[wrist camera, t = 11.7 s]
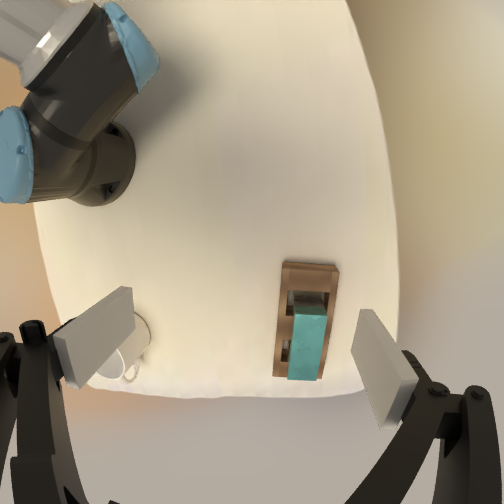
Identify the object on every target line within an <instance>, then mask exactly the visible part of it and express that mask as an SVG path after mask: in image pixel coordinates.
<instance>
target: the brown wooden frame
mask: <svg viewBox="0 0 504 504" xmlns="http://www.w3.org/2000/svg"><path fill="white" fill-rule="evenodd" d="M338 280H339V271H338V270H337V268H336V267H335V265H321V264H306V263H292V262H283V263H282V275H281V288H280V300H279V311H278V322H277V333H276V343H275V353H274V363H273V375H272V376H275V377H287V349H282V343H283V340H291V334H292V325H293V307H292V306H286V304H287V294H288V290H298V291H314V292H325V297H324V307H325V310H326V313H327V322H326V329H325V335H324V341H323V347H322V353H321V358H320V364H319V369H318V374H317V379H322V374H323V369H324V365H325V359H326V354H327V349H328V344H329V338H330V332H331V327H332V321H333V314H334V308H335V301H336V294H337V287H338Z"/></svg>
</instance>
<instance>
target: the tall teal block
mask: <svg viewBox="0 0 504 504" xmlns="http://www.w3.org/2000/svg"><path fill="white" fill-rule="evenodd" d="M292 307H293V325H292V334H291V340H288V344H287V379H288V380H309V381H316V379H317V374H318V369H319V364H320V358H321V353H322V347H323V341H324V335H325V329H326V322H327V313H326V310H325V307H324V304H323V301H322V298H321V295H320V292H314V291H298V290H293V296H292Z"/></svg>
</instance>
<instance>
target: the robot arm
mask: <svg viewBox="0 0 504 504" xmlns="http://www.w3.org/2000/svg"><path fill="white" fill-rule="evenodd" d="M0 58H2V59H4V60H6V61H8V62H9V63H11V64H13V65H15V66H16V67H18V69H19V72H20V81H21V86H23V87H24V88H26V89H27V90H29V91H30V92H29V94H28V96H27V97H26V99H25V100H24V102H23V103H22V105H21V106H20V107H17V106H11V107H7V108H5V109H4V110H2V111H1V112H0V202H2V203H19V204H25V203H29V202H38V201H46V200H54V199H63V198H68V199H70V200H73V201H75V202H77V203H79V204H81V205H84V206H91V207H93V206H102V205H106V204H109V203H111V202H113V201H114V200H115V199H117V198H118V197H119V196H120V195H121V194H122V193H123V192H124V190H125V189H126V187H127V186H128V184H129V182H130V180H131V177H132V174H133V171H134V165H135V149H134V144H133V141H132V138H131V136H130V135H129V133H128V132H127V130H126V129H125V128H124V127H122V126H121V125H120V124H118V123H115V122H112V120H113V119H114V117H115V116H116V115H117V114H118V113H119V112H120V111H121V110H122V109H123V108H124V107H125V106H126V104H127V103H128V102H129V101H130V100H131V99H132V98H133V97H134V96H135V95H136V94H139V93H140V92H141V90H142V88H143V87H144V86H145V85H146V83H147V82H148V81H149V80H150V79H151V78H152V77H153V76H154V75H155V74H156V73H157V72H158V70H159V68H160V59H159V56H158V54H157V52H156V51H155V49H154V48H153V46H152V45H151V43H150V42H149V41H148V39H147V38H146V36H145V35H144V34H143V33H142V31H141V30H140V29H139V28H138V26H137V25H136V24H135V23H134V22H133V21H132V20H131V19H130V18H129V16H128V15H127V14H126V13H125V12H124V11H123V9H122V8H121V7H119V6H118V5H117V4H116V3H114V2H109V3H107V4H104V5H103V6H102V7H101V8H100V7H99V6H97V5H96V4H95V3H94V2H93V1H84V2H78V3H70V2H69V1H68V0H0ZM19 329H20V333H21V337H22V340H23V343H16V342H15V339H14V336H13V334H12V333H9V332H2V333H0V485H1V479H2V474H3V469H4V464H5V459H6V455H7V451H8V446H9V442H10V439H11V435H12V431H13V428H14V424H15V420H16V418H17V453H18V455H17V457H12V458H11V460H10V469H11V481H12V490H13V497H14V504H89V503H88V501H87V499H86V497H85V494H84V491H83V488H82V485H81V482H80V479H79V474H78V471H77V467H76V464H75V459H74V455H73V451H72V447H71V442H70V437H69V432H68V427H67V421H66V416H65V410H64V402H63V395H62V386H61V383H60V379H61V378H62V377H63V376H64V378H65V381H66V384H67V386H70V387H72V388H75V389H77V390H80V389H81V388H82V387H83V386H84V384H85V383H86V382H87V381H88V380H89V379H90V378H91V377H92V376H93V374H94V373H95V372H96V371H97V370H98V369H99V368H100V367H101V366H102V365H103V364H104V362H105V361H106V360H107V359H108V358H109V357H110V356H111V355H112V354H113V353H114V352H115V350H116V349H117V348H118V347H119V346H120V345H121V344H122V343H123V342H124V341H125V340H126V339H127V338H128V337H129V335H130V334H131V333H132V332H133V331H134V330H135V329H136V326H135V316H134V306H133V294H132V288H131V287H124V286H121V287H119V288H118V289H116V290H115V291H113V292H112V293H110V294H109V295H108V296H106V297H105V298H103V299H102V300H101V301H99V302H98V303H96V304H95V305H93V306H92V307H91V308H89V309H88V310H86V311H85V312H84V313H82V314H81V315H79V316H78V317H75V318H73V319H70V320H69V321H67V322H66V323H65V324H64V325H62V326H60V327H59V328H58V329H56V330H55V331H54V332H52V333H51V334H49V335H48V336H46V332H45V327H44V324H43V322H42V321H39V320H30V321H26V322H24V323H22V324H21V325H20V327H19ZM351 353H352V355H353V358H354V361H355V363H356V366H357V368H358V371H359V374H360V376H361V379H362V381H363V384H364V387H365V389H366V392H367V395H368V398H369V400H370V403H371V405H372V408H373V411H374V414H375V417H376V420H377V423H378V426H379V428H380V430H388V429H396V428H397V426H398V424H399V422H400V420H402V422H403V423H402V425H401V426H400V428H399V430H398V431H397V433H396V435H395V436H394V438H393V439H392V441H391V443H390V444H389V445H388V447H387V449H386V450H385V452H384V453H383V454H382V456H381V457H380V459H379V460H378V462H377V463H376V464H375V466H374V467H373V469H372V470H371V471H370V473H369V474H368V475H367V477H366V478H365V479H364V480H363V482H362V483H361V484H360V485H359V487H358V488H357V489H356V490H355V492H354V493H353V494H352V495H351V496H350V498H349V499H348V500H347V501H346V502H345V504H400V503H401V502H402V500H403V498H404V497H405V495H406V493H407V491H408V490H409V488H410V486H411V484H412V483H413V480H414V479H415V477H416V475H417V473H418V471H419V469H420V467H421V465H422V463H423V461H424V459H425V457H426V455H427V453H428V451H429V448H430V446H431V444H432V442H433V439H434V438H437V439H440V451H439V461H438V470H437V477H436V484H435V491H434V496H433V501H432V504H502V482H501V465H500V454H499V444H498V436H497V430H496V423H495V417H494V412H493V407H492V402H491V397H490V394H489V392H488V391H487V390H486V389H485V388H483V387H481V386H477V385H476V386H475V385H472V386H469V387H468V388H467V389H466V390H465V392H464V394H463V395H460V394H450V391H449V389H448V388H447V387H446V386H445V385H443V384H441V383H439V382H432V380H431V379H430V377H429V376H428V374H427V373H426V371H425V370H424V369H423V368H422V366H421V364H420V363H419V362H418V360H417V359H416V357H415V356H414V355H413V354H412V353H410V352H409V351H407V350H404V351H403V350H400V348H399V347H398V346H397V344H396V342H395V341H394V339H393V338H392V337H391V335H390V334H389V332H388V331H387V329H386V328H385V326H384V325H383V323H382V322H381V321H380V319H379V318H378V316H377V315H376V313H375V312H374V311H373V310H372V309H360V313H359V318H358V322H357V327H356V331H355V335H354V340H353V344H352V348H351ZM108 504H119V503H117V502H114V501H111V500H110V501H109V503H108Z"/></svg>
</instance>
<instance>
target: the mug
mask: <svg viewBox="0 0 504 504" xmlns="http://www.w3.org/2000/svg"><path fill="white" fill-rule="evenodd" d="M134 316H135V326H136V329H135V330H134V331H133V332H132V333H131V334H130V335H129V337H128V338H127V339H126V340H125V341H124V342H123V343H122V344H121V345H120V346H119V347H118V348H117V349H116V350H115V352H114V353H113V354H112V355H111V356H110V357H109V358H108V359H107V360H106V361H105V362H104V364H103V365H102V366H101V367H100V368H99V369H98V370H97V371H96V372H95V373H96V374H98V375H99V376H101V377H102V378H105V379H107V380H118V381H119V382H121V383H123V384H130V383H132V382H133V381H134V380H135V378H136V376H137V374H138V371H139V365H140V363H139V356H140V355H141V354H142V353H143V352H144V351H145V349H146V348H147V347H148V344H149V342H150V333H149V329H148V327H147V325H146V323H145V322H144V321H143V320H142V319H141V318H140V317H139V316H138V315H136V314H134ZM132 365H134V367H135V375H134V377H133V378H132V379H131V380H128V379H127V378H126V377H125V376H124V374H125V373H126V372H127V371H128V369H129V368H130V367H131V366H132Z"/></svg>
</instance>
